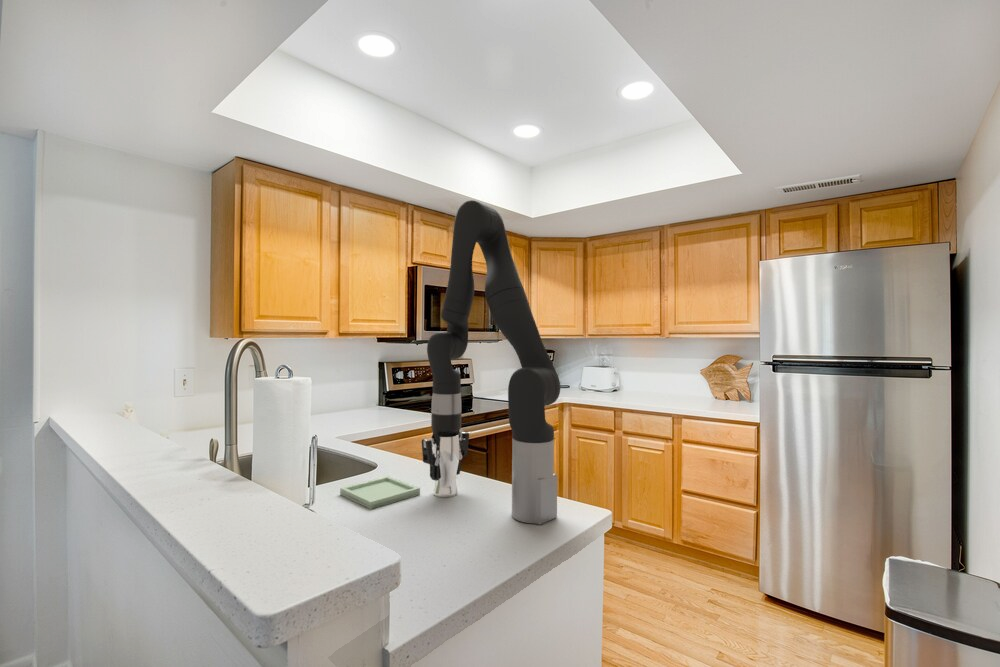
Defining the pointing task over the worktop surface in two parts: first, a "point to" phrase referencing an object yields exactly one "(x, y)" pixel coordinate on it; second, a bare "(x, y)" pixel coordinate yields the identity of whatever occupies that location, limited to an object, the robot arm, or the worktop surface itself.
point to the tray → (379, 492)
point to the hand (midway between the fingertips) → (445, 476)
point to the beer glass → (447, 465)
